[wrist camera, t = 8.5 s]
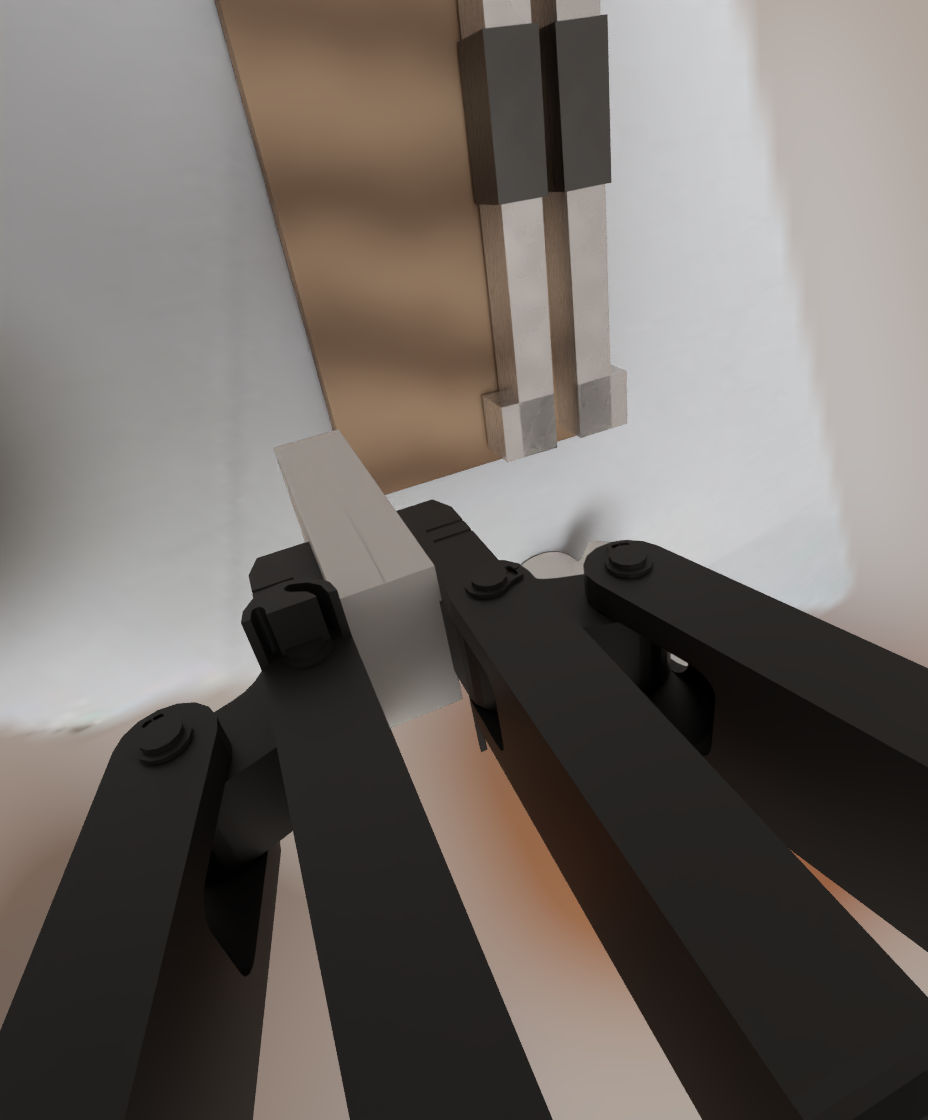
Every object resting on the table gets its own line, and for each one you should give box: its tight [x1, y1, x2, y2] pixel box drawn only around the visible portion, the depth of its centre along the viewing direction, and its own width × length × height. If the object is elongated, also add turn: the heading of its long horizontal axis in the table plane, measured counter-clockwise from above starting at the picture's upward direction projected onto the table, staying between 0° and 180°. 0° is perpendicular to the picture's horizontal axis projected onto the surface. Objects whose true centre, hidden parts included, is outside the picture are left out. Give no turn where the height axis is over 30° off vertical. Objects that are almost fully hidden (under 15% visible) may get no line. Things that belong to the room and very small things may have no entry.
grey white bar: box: [530, 0, 627, 438], centre depth 30 cm, size 26×6×3 cm, turn 9°
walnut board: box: [215, 0, 577, 495], centre depth 30 cm, size 28×16×2 cm, turn 9°
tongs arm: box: [458, 0, 557, 462], centre depth 29 cm, size 26×6×3 cm, turn 8°
